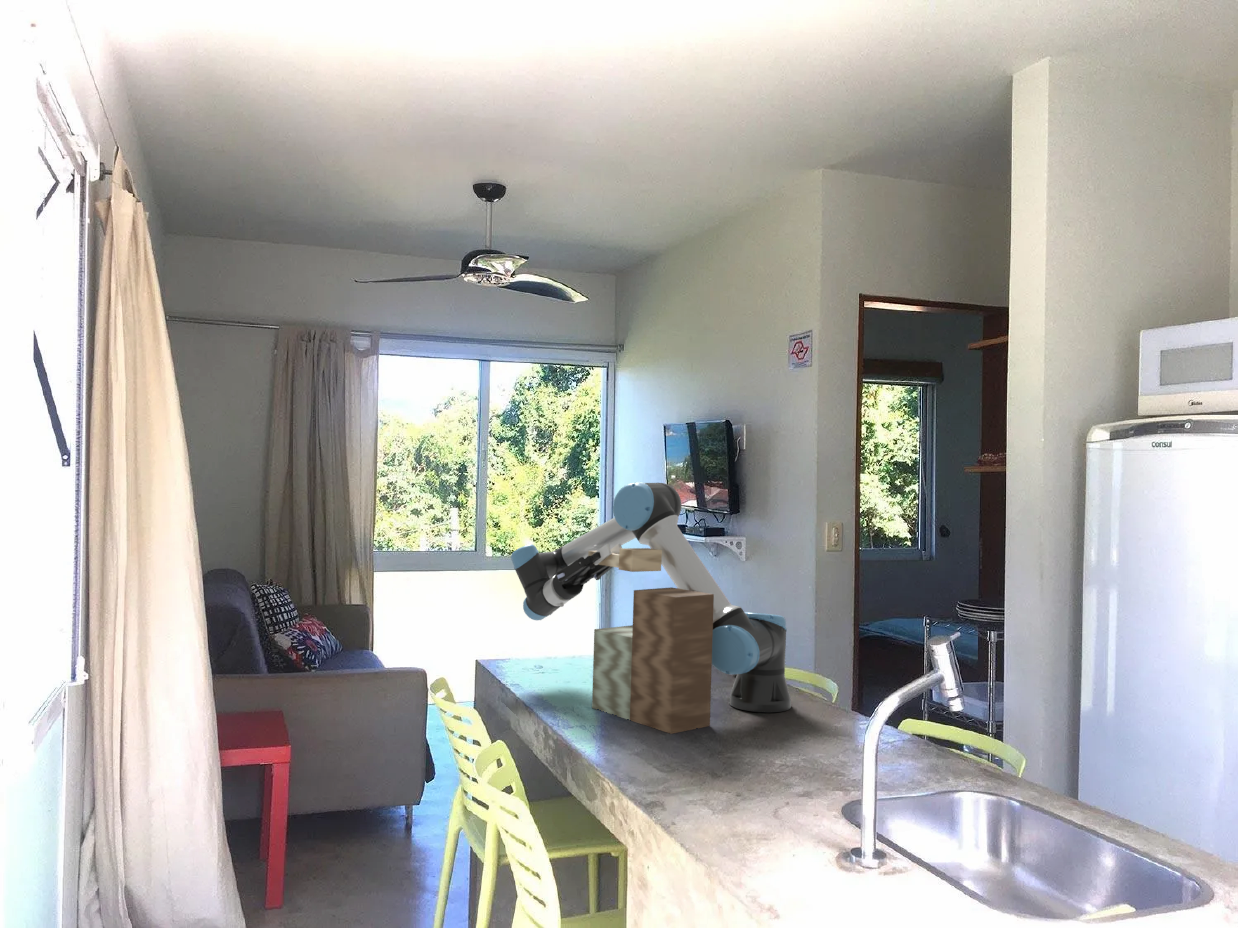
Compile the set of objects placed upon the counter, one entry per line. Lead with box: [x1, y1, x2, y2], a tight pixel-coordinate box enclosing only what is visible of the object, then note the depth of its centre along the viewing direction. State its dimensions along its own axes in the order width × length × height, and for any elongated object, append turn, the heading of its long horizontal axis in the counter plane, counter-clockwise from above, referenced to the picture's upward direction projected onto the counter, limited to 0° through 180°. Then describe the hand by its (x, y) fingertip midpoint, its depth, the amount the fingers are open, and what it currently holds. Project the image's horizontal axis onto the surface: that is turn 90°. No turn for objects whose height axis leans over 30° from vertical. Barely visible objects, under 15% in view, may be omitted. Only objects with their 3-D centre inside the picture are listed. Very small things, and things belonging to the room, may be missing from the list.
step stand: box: [591, 586, 714, 735], centre depth 235 cm, size 28×12×30 cm, turn 40°
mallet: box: [588, 547, 662, 573], centre depth 244 cm, size 21×9×5 cm, turn 39°
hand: (615, 548), depth 245 cm, fingers closed on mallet, 3 cm apart
